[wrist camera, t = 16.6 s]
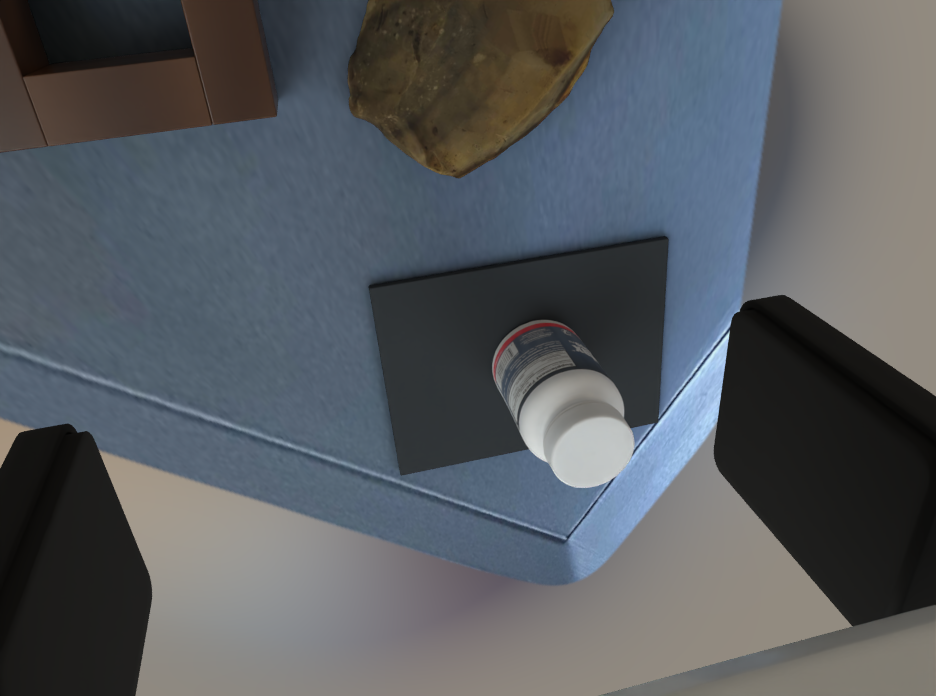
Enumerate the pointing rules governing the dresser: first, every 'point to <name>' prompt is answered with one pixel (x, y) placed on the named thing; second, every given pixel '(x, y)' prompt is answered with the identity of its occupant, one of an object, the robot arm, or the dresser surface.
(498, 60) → the decorative stone
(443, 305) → the mat
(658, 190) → the dresser surface
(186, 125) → the stand
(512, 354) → the pill bottle
